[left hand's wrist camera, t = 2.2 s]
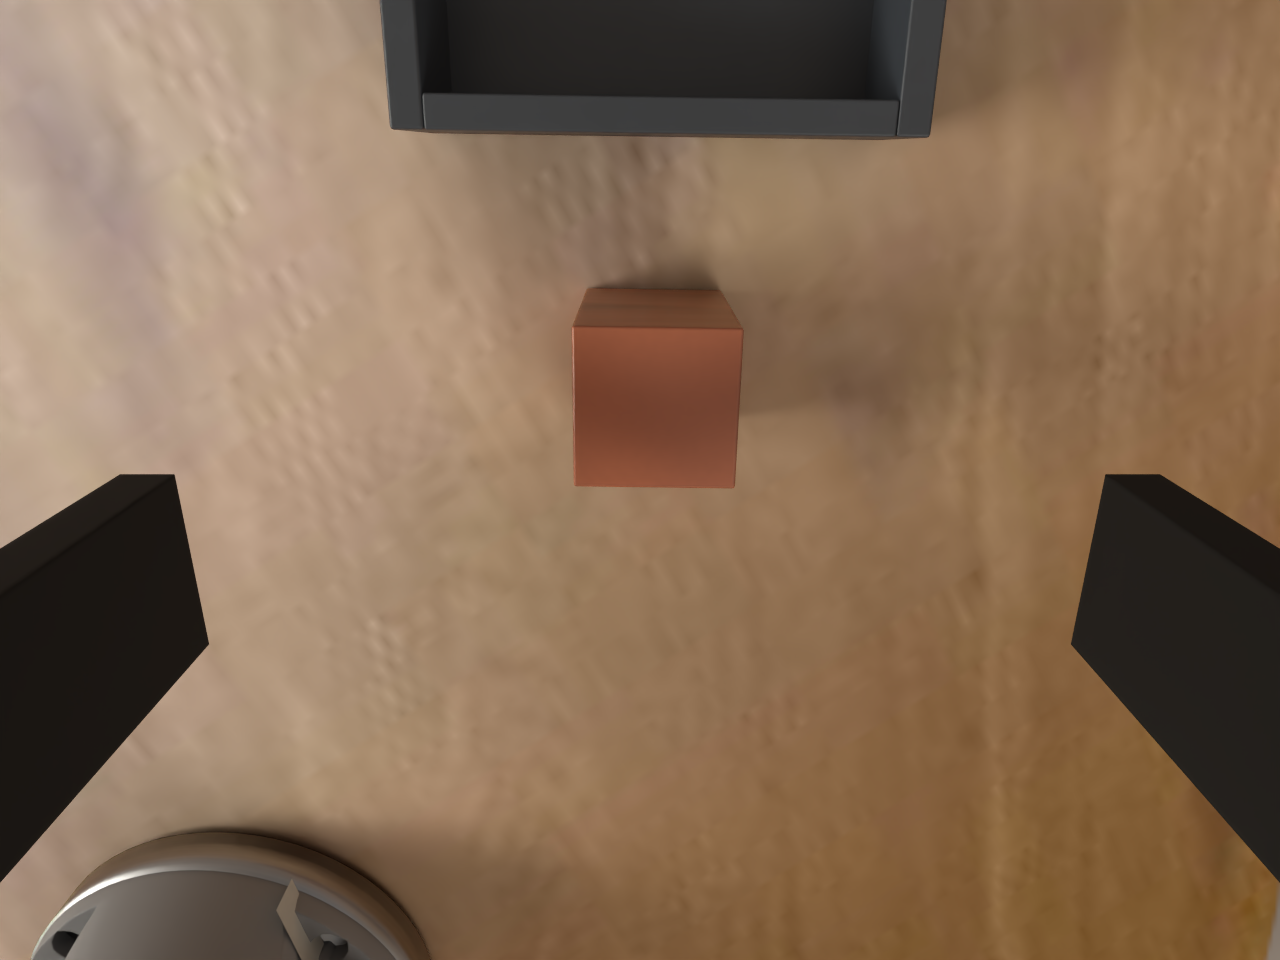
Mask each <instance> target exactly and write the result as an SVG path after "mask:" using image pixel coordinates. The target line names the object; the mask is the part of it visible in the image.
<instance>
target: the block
mask: <svg viewBox="0 0 1280 960" xmlns="http://www.w3.org/2000/svg"><path fill="white" fill-rule="evenodd" d="M743 334H744V330H743V328H742V326H741V325H740V323H739V321H738V319H737V318H736V316H735V314H734V313H733V311H732V309H731V307H730V306H729V304H728V302H727V300H726V299H725V297H724V295H723V294H722V292H721V291H720V290H672V289H603V288H588V289H587V290H586V293H585V296H584V298H583V301H582V303H581V306H580V308H579V311H578V314H577V316H576V319H575V321H574V324H573V326H572V383H573V455H574V485H575V486H602V487H677V488H734V486H735V474H736V457H737V439H738V422H739V404H740V386H741V369H742V351H743Z"/></svg>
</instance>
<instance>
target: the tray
mask: <svg viewBox="0 0 1280 960" xmlns="http://www.w3.org/2000/svg"><path fill="white" fill-rule="evenodd" d="M946 1H947V0H380V10H381V22H382V34H383V46H384V59H385V71H386V83H387V95H388V108H389V120H390V127H391V128H392V129H394V130H405V131H417V132H428V133H463V134H528V135H594V136H659V137H724V138H789V139H855V140H888V139H908V138H927V137H929V135H930V131H931V123H932V114H933V106H934V98H935V90H936V82H937V74H938V66H939V58H940V50H941V42H942V34H943V26H944V18H945V9H946Z"/></svg>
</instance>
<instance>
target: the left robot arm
mask: <svg viewBox="0 0 1280 960" xmlns="http://www.w3.org/2000/svg"><path fill="white" fill-rule="evenodd" d="M208 645H209V642H208V637H207V632H206V627H205V622H204V617H203V612H202V607H201V602H200V597H199V593H198V588H197V583H196V578H195V573H194V568H193V563H192V558H191V553H190V548H189V543H188V539H187V534H186V529H185V524H184V519H183V514H182V509H181V504H180V499H179V494H178V489H177V485H176V480H175V475H174V474H120V475H118V476H117V477H115V478H114V479H112V480H110V481H109V482H107V483H105V484H104V485H102V486H101V487H99V488H97V489H96V490H94V491H93V492H91V493H89V494H88V495H86V496H85V497H83V498H81V499H80V500H78V501H76V502H75V503H73V504H72V505H70V506H68V507H67V508H65V509H64V510H62V511H60V512H59V513H57V514H55V515H54V516H52V517H51V518H49V519H47V520H46V521H44V522H43V523H41V524H39V525H38V526H36V527H35V528H33V529H31V530H30V531H28V532H26V533H25V534H23V535H22V536H20V537H18V538H17V539H15V540H14V541H12V542H10V543H9V544H7V545H5V546H4V547H2V548H1V549H0V882H1V881H2V880H3V879H4V878H5V876H6V875H7V874H8V873H9V872H10V871H11V870H12V869H13V867H14V866H15V865H16V864H17V863H18V862H19V861H20V859H21V858H22V857H23V856H24V855H25V854H26V853H27V851H28V850H29V849H30V848H31V847H32V846H33V845H34V843H35V842H36V841H37V840H38V839H39V838H40V837H41V835H42V834H43V833H44V832H45V831H46V830H47V829H48V827H49V826H50V825H51V824H52V823H53V822H54V821H55V819H56V818H57V817H58V816H59V815H60V814H61V813H62V811H63V810H64V809H65V808H66V807H67V806H68V805H69V803H70V802H71V801H72V800H73V799H74V798H75V797H76V795H77V794H78V793H79V792H80V791H81V790H82V789H83V787H84V786H85V785H86V784H87V783H88V782H89V781H90V779H91V778H92V777H93V776H94V775H95V774H96V773H97V771H98V770H99V769H100V768H101V767H102V766H103V765H104V763H105V762H106V761H107V760H108V759H109V758H110V757H111V755H112V754H113V753H114V752H115V751H116V750H117V749H118V747H119V746H120V745H121V744H122V743H123V742H124V741H125V739H126V738H127V737H128V736H129V735H130V734H131V733H132V732H133V730H134V729H135V728H136V727H137V726H138V725H139V724H140V722H141V721H142V720H143V719H144V718H145V717H146V716H147V714H148V713H149V712H150V711H151V710H152V709H153V708H154V706H155V705H156V704H157V703H158V702H159V701H160V700H161V698H162V697H163V696H164V695H165V694H166V693H167V692H168V690H169V689H170V688H171V687H172V686H173V685H174V684H175V682H176V681H177V680H178V679H179V678H180V677H181V676H182V674H183V673H184V672H185V671H186V670H187V669H188V668H189V666H190V665H191V664H192V663H193V662H194V661H195V660H196V658H197V657H198V656H199V655H200V654H201V653H202V652H203V650H204V649H205V648H206V647H207V646H208ZM1071 645H1072V646H1073V647H1074V648H1075V649H1076V650H1077V652H1078V653H1079V654H1080V655H1081V656H1082V657H1083V658H1084V660H1085V661H1086V662H1087V663H1088V664H1089V665H1090V666H1091V668H1092V669H1093V670H1094V671H1095V672H1096V673H1097V674H1098V676H1099V677H1100V678H1101V679H1102V680H1103V681H1104V682H1105V684H1106V685H1107V686H1108V687H1109V688H1110V689H1111V690H1112V692H1113V693H1114V694H1115V695H1116V696H1117V697H1118V698H1119V700H1120V701H1121V702H1122V703H1123V704H1124V705H1125V706H1126V708H1127V709H1128V710H1129V711H1130V712H1131V713H1132V714H1133V716H1134V717H1135V718H1136V719H1137V720H1138V721H1139V722H1140V724H1141V725H1142V726H1143V727H1144V728H1145V729H1146V730H1147V732H1148V733H1149V734H1150V735H1151V736H1152V737H1153V738H1154V739H1155V741H1156V742H1157V743H1158V744H1159V745H1160V746H1161V747H1162V749H1163V750H1164V751H1165V752H1166V753H1167V754H1168V755H1169V757H1170V758H1171V759H1172V760H1173V761H1174V762H1175V763H1176V765H1177V766H1178V767H1179V768H1180V769H1181V770H1182V771H1183V773H1184V774H1185V775H1186V776H1187V777H1188V778H1189V779H1190V781H1191V782H1192V783H1193V784H1194V785H1195V786H1196V787H1197V789H1198V790H1199V791H1200V792H1201V793H1202V794H1203V795H1204V797H1205V798H1206V799H1207V800H1208V801H1209V802H1210V803H1211V805H1212V806H1213V807H1214V808H1215V809H1216V810H1217V811H1218V813H1219V814H1220V815H1221V816H1222V817H1223V818H1224V819H1225V821H1226V822H1227V823H1228V824H1229V825H1230V826H1231V827H1232V829H1233V830H1234V831H1235V832H1236V833H1237V834H1238V835H1239V837H1240V838H1241V839H1242V840H1243V841H1244V842H1245V843H1246V845H1247V846H1248V847H1249V848H1250V849H1251V850H1252V851H1253V853H1254V854H1255V855H1256V856H1257V857H1258V858H1259V859H1260V861H1261V862H1262V863H1263V864H1264V865H1265V866H1266V867H1267V869H1268V870H1269V871H1270V872H1271V873H1272V874H1273V875H1274V876H1275V878H1276V879H1277V880H1278V881H1279V882H1280V549H1279V548H1278V547H1276V546H1275V545H1273V544H1271V543H1270V542H1268V541H1266V540H1265V539H1263V538H1262V537H1260V536H1258V535H1257V534H1255V533H1254V532H1252V531H1250V530H1249V529H1247V528H1245V527H1244V526H1242V525H1241V524H1239V523H1237V522H1236V521H1234V520H1233V519H1231V518H1229V517H1228V516H1226V515H1225V514H1223V513H1221V512H1220V511H1218V510H1216V509H1215V508H1213V507H1212V506H1210V505H1208V504H1207V503H1205V502H1204V501H1202V500H1200V499H1199V498H1197V497H1195V496H1194V495H1192V494H1191V493H1189V492H1187V491H1186V490H1184V489H1183V488H1181V487H1179V486H1178V485H1176V484H1175V483H1173V482H1171V481H1170V480H1168V479H1166V478H1165V477H1163V476H1162V475H1160V474H1106V475H1105V480H1104V485H1103V489H1102V494H1101V499H1100V504H1099V509H1098V514H1097V519H1096V524H1095V529H1094V534H1093V539H1092V543H1091V548H1090V553H1089V558H1088V563H1087V568H1086V573H1085V578H1084V583H1083V588H1082V593H1081V597H1080V602H1079V607H1078V612H1077V617H1076V622H1075V627H1074V632H1073V637H1072V642H1071ZM31 960H430V957H429V954H428V951H427V949H426V947H425V945H424V942H423V940H422V939H421V937H420V935H419V933H418V932H417V930H416V928H415V927H414V925H413V924H412V923H411V921H410V920H409V919H408V917H407V916H406V915H405V913H404V912H403V911H402V910H401V909H400V908H399V907H398V906H397V904H396V903H395V902H394V901H393V900H391V899H390V898H389V897H388V896H387V895H386V894H385V893H384V892H383V891H382V890H380V889H379V888H378V887H377V886H375V885H374V884H373V883H371V882H370V881H369V880H368V879H366V878H365V877H363V876H361V875H360V874H358V873H357V872H355V871H354V870H352V869H351V868H349V867H347V866H345V865H343V864H341V863H339V862H338V861H336V860H334V859H332V858H329V857H327V856H325V855H323V854H320V853H318V852H316V851H313V850H310V849H307V848H305V847H302V846H299V845H296V844H292V843H289V842H285V841H281V840H278V839H273V838H268V837H263V836H257V835H249V834H241V833H226V832H206V833H191V834H182V835H176V836H171V837H165V838H161V839H157V840H154V841H150V842H147V843H143V844H141V845H138V846H136V847H133V848H131V849H128V850H126V851H124V852H122V853H120V854H118V855H116V856H114V857H113V858H111V859H110V860H108V861H107V862H105V863H104V864H102V865H101V866H99V867H98V868H97V869H96V870H94V871H93V872H92V873H91V874H90V875H88V876H87V877H86V878H85V880H84V881H83V882H82V883H81V884H80V885H79V886H78V887H77V889H76V890H75V891H74V892H73V894H72V895H71V896H70V898H69V899H68V900H67V902H66V903H65V904H64V906H63V907H62V908H61V909H60V911H59V912H58V913H57V915H56V916H55V917H54V919H53V920H52V921H51V923H50V924H49V925H48V927H47V928H46V929H45V931H44V932H43V934H42V935H41V937H40V938H39V940H38V942H37V944H36V947H35V949H34V951H33V954H32V957H31Z"/></svg>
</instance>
